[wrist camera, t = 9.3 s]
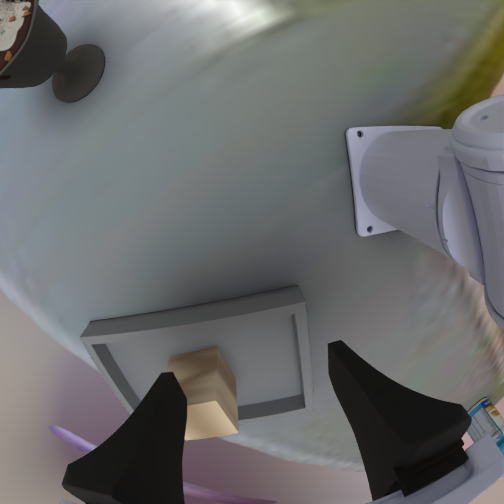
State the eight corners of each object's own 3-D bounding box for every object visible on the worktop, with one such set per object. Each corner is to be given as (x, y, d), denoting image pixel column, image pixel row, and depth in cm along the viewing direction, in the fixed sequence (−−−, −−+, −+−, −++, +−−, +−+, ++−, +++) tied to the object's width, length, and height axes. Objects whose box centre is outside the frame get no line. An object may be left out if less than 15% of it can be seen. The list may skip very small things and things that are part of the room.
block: (217, 345, 21) (216, 400, 16) (236, 380, 23) (238, 432, 17) (169, 356, 22) (157, 409, 16) (191, 389, 23) (185, 440, 18)
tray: (297, 285, 21) (305, 301, 18) (308, 392, 25) (314, 410, 23) (90, 321, 21) (79, 337, 18) (146, 413, 25) (142, 429, 23)
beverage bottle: (464, 410, 35) (506, 473, 16) (491, 389, 34) (534, 446, 16) (456, 428, 38) (491, 485, 19) (481, 409, 37) (518, 461, 18)
